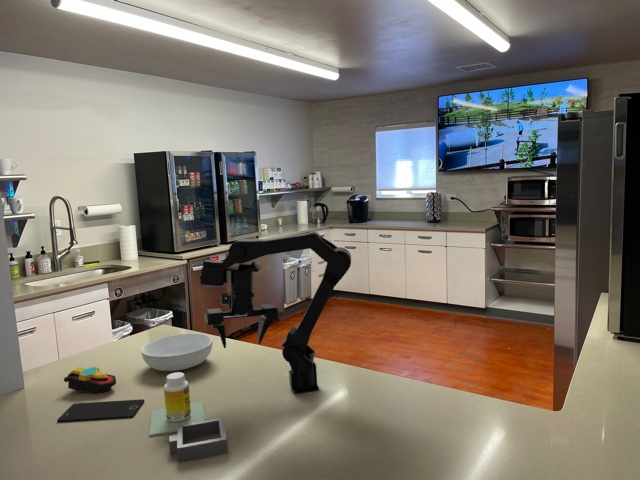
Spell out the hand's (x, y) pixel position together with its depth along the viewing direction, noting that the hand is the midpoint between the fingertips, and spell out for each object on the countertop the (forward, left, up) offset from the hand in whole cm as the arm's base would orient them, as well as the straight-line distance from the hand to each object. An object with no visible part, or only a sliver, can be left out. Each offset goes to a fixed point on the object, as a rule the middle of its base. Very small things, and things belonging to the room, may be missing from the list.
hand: (242, 345), depth 127 cm
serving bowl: (+17, -24, -12) cm, 32 cm away
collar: (+12, +26, -12) cm, 31 cm away
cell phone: (+35, 0, -12) cm, 37 cm away
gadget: (+39, -14, -12) cm, 44 cm away
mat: (+17, +12, -12) cm, 24 cm away
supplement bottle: (+17, +11, -12) cm, 23 cm away
